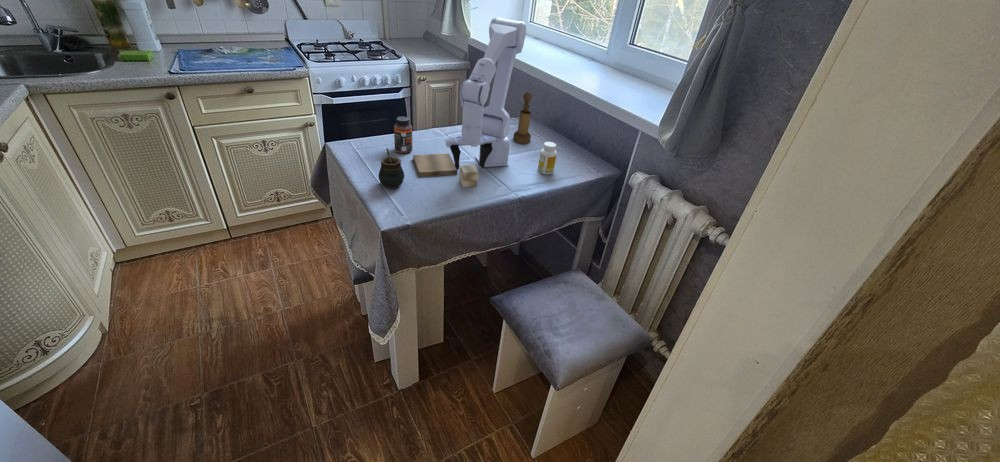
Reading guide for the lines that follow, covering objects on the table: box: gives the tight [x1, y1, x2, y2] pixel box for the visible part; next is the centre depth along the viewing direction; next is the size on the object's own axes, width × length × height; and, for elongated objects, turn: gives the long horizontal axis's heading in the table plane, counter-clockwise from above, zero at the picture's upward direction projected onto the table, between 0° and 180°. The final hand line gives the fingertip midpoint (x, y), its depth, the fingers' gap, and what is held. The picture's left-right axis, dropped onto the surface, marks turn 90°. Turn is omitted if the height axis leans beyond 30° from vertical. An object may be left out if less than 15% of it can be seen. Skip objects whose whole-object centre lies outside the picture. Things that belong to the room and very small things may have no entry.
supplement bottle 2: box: [537, 141, 558, 175], centre depth 142 cm, size 5×5×10 cm
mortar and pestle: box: [512, 92, 533, 145], centre depth 159 cm, size 7×6×18 cm
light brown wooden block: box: [412, 153, 458, 177], centre depth 139 cm, size 12×12×2 cm
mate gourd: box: [378, 148, 405, 189], centre depth 125 cm, size 7×8×10 cm
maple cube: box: [459, 164, 479, 188], centre depth 132 cm, size 4×4×5 cm
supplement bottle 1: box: [393, 116, 413, 155], centre depth 144 cm, size 6×6×11 cm
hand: (469, 167), depth 130 cm, fingers open, 7 cm apart
